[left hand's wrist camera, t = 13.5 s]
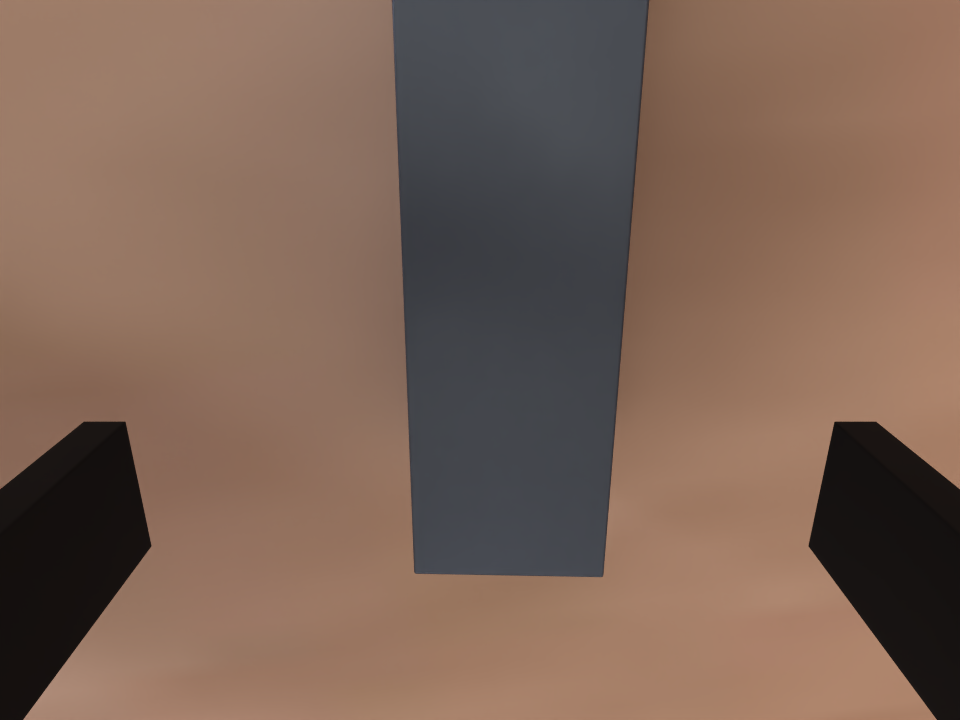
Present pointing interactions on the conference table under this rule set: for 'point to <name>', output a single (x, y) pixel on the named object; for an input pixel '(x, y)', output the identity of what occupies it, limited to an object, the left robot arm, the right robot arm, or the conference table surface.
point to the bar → (515, 273)
